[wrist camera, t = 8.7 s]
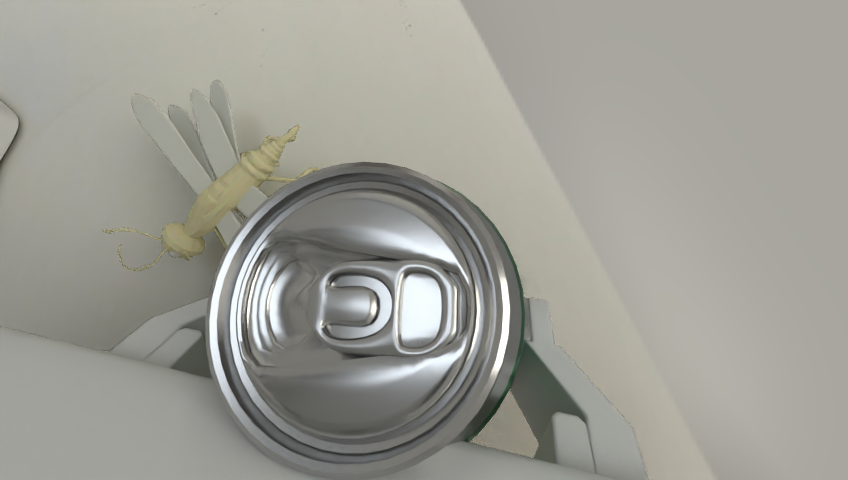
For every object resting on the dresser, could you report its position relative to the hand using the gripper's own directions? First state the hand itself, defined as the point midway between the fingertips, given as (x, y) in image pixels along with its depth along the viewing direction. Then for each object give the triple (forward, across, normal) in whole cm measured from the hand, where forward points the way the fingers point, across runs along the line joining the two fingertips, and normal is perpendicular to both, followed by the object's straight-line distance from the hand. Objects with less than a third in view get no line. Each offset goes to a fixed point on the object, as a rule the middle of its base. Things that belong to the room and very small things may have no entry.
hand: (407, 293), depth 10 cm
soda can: (+4, 0, +5) cm, 7 cm away
